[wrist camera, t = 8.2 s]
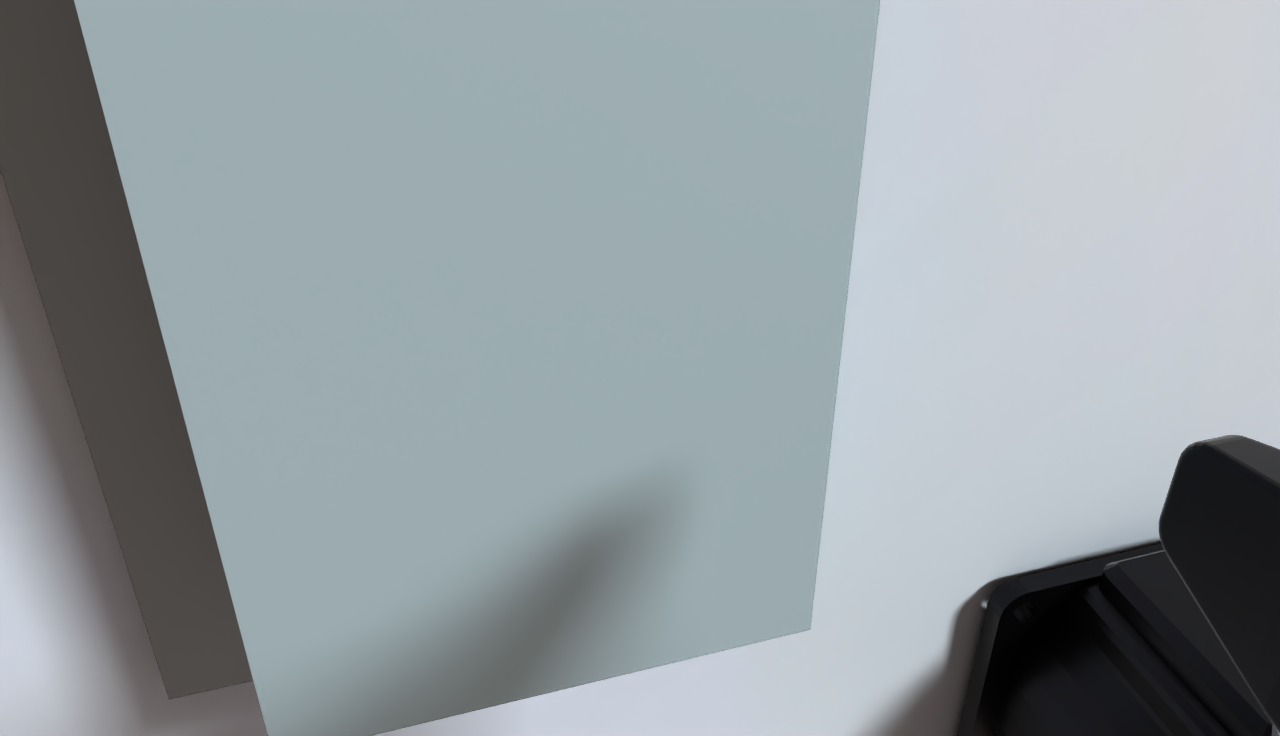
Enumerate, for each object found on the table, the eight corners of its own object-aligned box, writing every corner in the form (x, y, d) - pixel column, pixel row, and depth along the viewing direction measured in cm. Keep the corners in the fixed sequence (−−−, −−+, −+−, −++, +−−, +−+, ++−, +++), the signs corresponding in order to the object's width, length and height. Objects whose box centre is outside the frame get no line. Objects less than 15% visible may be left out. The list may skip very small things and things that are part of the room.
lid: (734, 502, 18) (810, 630, 16) (263, 599, 16) (274, 758, 14) (781, -331, 12) (915, -313, 10) (41, -316, 10) (-2, -292, 8)
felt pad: (804, 545, 20) (812, 556, 19) (170, 683, 17) (169, 699, 17) (916, -503, 12) (932, -505, 12) (-214, -535, 9) (-225, -539, 9)
